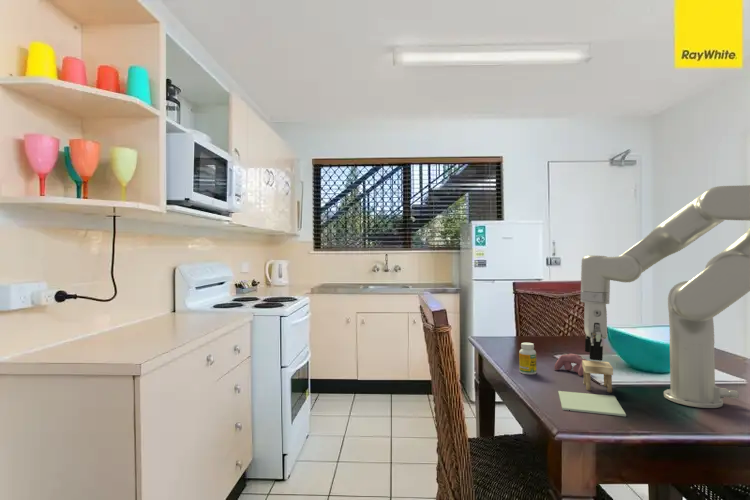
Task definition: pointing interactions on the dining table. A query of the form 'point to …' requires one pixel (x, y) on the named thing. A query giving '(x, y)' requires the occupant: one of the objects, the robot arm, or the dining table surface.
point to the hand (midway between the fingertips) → (593, 355)
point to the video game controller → (567, 360)
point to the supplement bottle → (527, 359)
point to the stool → (597, 368)
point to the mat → (590, 403)
